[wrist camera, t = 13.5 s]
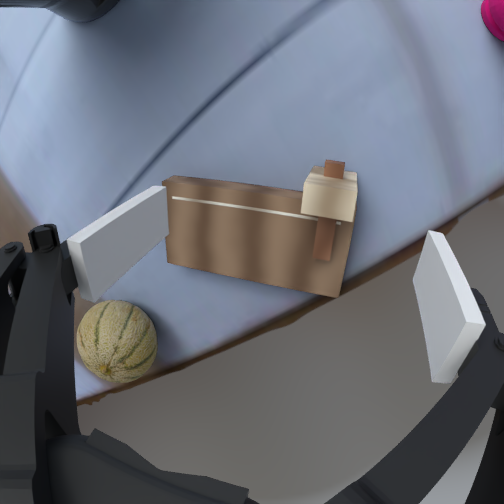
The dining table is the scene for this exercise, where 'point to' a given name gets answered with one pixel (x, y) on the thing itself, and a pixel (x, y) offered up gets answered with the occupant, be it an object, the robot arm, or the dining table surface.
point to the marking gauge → (329, 202)
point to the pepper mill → (494, 17)
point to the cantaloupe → (117, 341)
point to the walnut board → (251, 234)
